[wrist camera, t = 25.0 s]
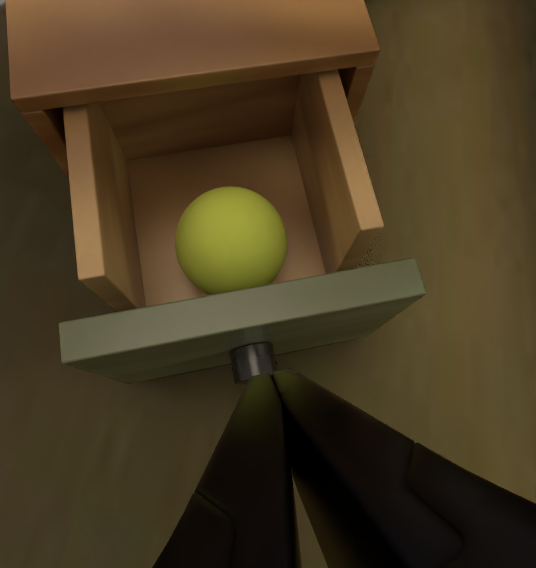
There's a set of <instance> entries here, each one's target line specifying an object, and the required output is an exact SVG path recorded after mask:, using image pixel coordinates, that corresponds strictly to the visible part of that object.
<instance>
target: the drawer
mask: <svg viewBox="0 0 536 568" xmlns="http://www.w3.org/2000/svg"><path fill="white" fill-rule="evenodd" d="M63 116H64V127H65V138H66V149H67V161H68V172H69V183H70V194H71V205H72V216H73V227H74V238H75V249H76V260H77V271H78V279H79V280H80V281H81V282H82V283H83V284H84V285H86V286H87V287H88V288H89V289H90V290H92V291H93V292H94V293H95V294H96V295H98V296H99V297H100V298H101V299H102V300H103V301H105V302H106V303H107V304H108V305H109V306H111V307H112V308H113V309H114V310H115V311H117V312H114V313H109V314H104V315H98V316H93V317H87V318H82V319H76V320H71V321H65V322H61V323H59V335H60V348H61V361H62V363H63V364H66V365H69V366H72V367H75V368H79V369H82V370H85V371H88V372H91V373H95V374H98V375H101V376H104V377H107V378H111V379H114V380H117V381H120V382H124V383H127V384H130V383H135V382H140V381H145V380H150V379H155V378H160V377H165V376H171V375H176V374H181V373H186V372H191V371H196V370H201V369H206V368H211V367H216V366H221V365H226V364H231V365H232V371H233V377H234V382H235V384H237V385H240V384H247V382H248V380H249V378H250V377H251V376H255V375H259V374H264V373H269V374H271V376H272V373H273V372H275V371H278V368H277V363H276V358H275V355H276V354H281V353H286V352H291V351H296V350H301V349H306V348H311V347H316V346H322V345H327V344H332V343H337V342H342V341H347V340H352V339H357V338H362V337H366V336H368V335H369V334H370V333H372V332H373V331H375V330H376V329H377V328H379V327H380V326H382V325H383V324H384V323H386V322H387V321H389V320H390V319H391V318H393V317H394V316H396V315H397V314H398V313H400V312H401V311H403V310H404V309H405V308H407V307H408V306H410V305H411V304H412V303H414V302H415V301H417V300H418V299H419V298H421V297H422V296H424V295H425V294H426V290H425V287H424V284H423V280H422V277H421V274H420V271H419V268H418V264H417V261H416V259H415V258H410V259H404V260H399V261H393V262H388V263H382V264H377V265H371V266H366V267H361V268H355V267H356V266H357V264H358V263H359V261H360V260H361V259H362V257H363V256H364V254H365V253H366V251H367V250H368V249H369V247H370V246H371V244H372V243H373V242H374V240H375V239H376V237H377V236H378V234H379V233H380V232H381V230H382V229H383V227H384V223H383V220H382V217H381V213H380V210H379V207H378V203H377V200H376V197H375V193H374V190H373V186H372V183H371V180H370V176H369V173H368V170H367V166H366V163H365V160H364V156H363V153H362V150H361V146H360V143H359V139H358V136H357V133H356V129H355V126H354V123H353V119H352V116H351V113H350V109H349V106H348V103H347V99H346V96H345V92H344V89H343V86H342V82H341V79H340V76H339V72H338V69H337V70H330V71H322V72H315V73H308V74H301V75H293V76H286V77H279V78H272V79H264V80H257V81H250V82H242V83H235V84H228V85H221V86H213V87H206V88H199V89H192V90H184V91H177V92H170V93H163V94H155V95H148V96H141V97H134V98H126V99H119V100H112V101H104V102H97V103H90V104H83V105H75V106H68V107H63ZM229 186H232V187H241V188H246V189H249V190H252V191H254V192H256V193H258V194H260V195H261V196H263V197H264V198H266V199H267V200H268V201H269V202H270V203H271V204H272V205H273V206H274V207H275V208H276V210H277V211H278V213H279V214H280V216H281V218H282V220H283V223H284V226H285V229H286V234H287V252H286V257H285V260H284V263H283V265H282V268H281V270H280V271H279V273H278V274H277V276H276V277H275V278H274V280H273V281H272V282H271V283H270V284H268V285H262V286H257V287H251V288H246V289H240V290H235V291H229V292H224V293H218V294H213V295H210V294H208V293H206V292H204V291H202V290H201V289H199V288H198V287H197V286H196V285H194V284H193V283H192V282H191V281H190V280H189V279H188V277H187V276H186V275H185V273H184V272H183V270H182V268H181V266H180V264H179V261H178V259H177V254H176V249H175V235H176V229H177V226H178V223H179V220H180V218H181V216H182V214H183V213H184V211H185V210H186V208H187V207H188V206H189V205H190V204H191V202H193V201H194V200H195V199H196V198H197V197H199V196H200V195H202V194H204V193H206V192H208V191H210V190H213V189H216V188H220V187H229Z"/></svg>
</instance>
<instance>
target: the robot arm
mask: <svg viewBox="0 0 536 568" xmlns="http://www.w3.org/2000/svg"><path fill="white" fill-rule="evenodd" d="M291 472H292V473H291ZM292 475H293V479H294V482H295V484H296V487H297V490H298V492H299V495H300V497H301V500H302V502H303V505H304V507H305V510H306V513H307V515H308V518H309V520H310V523H311V525H312V528H313V530H314V533H315V535H316V538H317V540H318V543H319V545H320V548H321V550H322V553H323V555H324V558H325V560H326V563H327V565H328V568H536V504H535V503H533V502H531V501H529V500H527V499H525V498H523V497H520V496H518V495H516V494H514V493H512V492H510V491H508V490H506V489H504V488H502V487H500V486H498V485H496V484H494V483H492V482H490V481H488V480H485V479H483V478H481V477H479V476H477V475H475V474H473V473H471V472H469V471H467V470H465V469H464V468H462V467H460V466H458V465H456V464H455V463H453V462H451V461H449V460H447V459H446V458H444V457H442V456H440V455H438V454H437V453H435V452H433V451H432V450H430V449H428V448H426V447H425V446H423V445H421V444H420V443H415V442H414V441H413V440H411V439H410V438H408V437H406V436H405V435H403V434H401V433H400V432H398V431H396V430H395V429H393V428H391V427H390V426H388V425H386V424H384V423H383V422H381V421H379V420H378V419H376V418H374V417H373V416H371V415H369V414H368V413H366V412H364V411H362V410H361V409H359V408H357V407H356V406H354V405H352V404H351V403H349V402H347V401H346V400H344V399H342V398H341V397H339V396H337V395H335V394H334V393H332V392H330V391H329V390H327V389H325V388H324V387H322V386H320V385H319V384H317V383H315V382H313V381H312V380H310V379H308V378H307V377H305V376H303V375H302V374H300V373H298V372H297V371H295V370H293V369H290V368H289V369H284V370H279V371H275V372H273V373H272V376H271V374H269V373H264V374H259V375H255V376H251V377H250V378H249V380H248V382H247V385H246V387H245V389H244V391H243V393H242V395H241V397H240V399H239V401H238V403H237V405H236V407H235V409H234V411H233V413H232V415H231V418H230V420H229V422H228V424H227V426H226V428H225V430H224V432H223V434H222V436H221V438H220V440H219V442H218V444H217V446H216V448H215V450H214V453H213V455H212V457H211V459H210V461H209V463H208V465H207V467H206V469H205V471H204V473H203V475H202V477H201V479H200V481H199V483H198V485H197V488H196V490H195V493H194V494H192V496H191V498H190V500H189V503H188V505H187V507H186V509H185V511H184V513H183V515H182V517H181V519H180V520H179V522H178V524H177V526H176V528H175V530H174V532H173V534H172V536H171V537H170V539H169V541H168V543H167V544H166V546H165V548H164V549H163V551H162V552H161V554H160V556H159V557H158V559H157V561H156V562H155V564H154V566H153V567H152V568H302V565H301V556H300V546H299V536H298V526H297V516H296V507H295V497H294V488H293V480H292Z"/></svg>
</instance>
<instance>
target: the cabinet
mask: <svg viewBox="0 0 536 568" xmlns="http://www.w3.org/2000/svg"><path fill="white" fill-rule="evenodd" d="M6 16H7V35H8V54H9V73H10V92H11V100H12V101H13V103H14V104H15V105H16V107H17V108H18V109H19V111H20V112H21V113H22V115H23V116H24V117H25V119H26V120H27V122H28V123H29V124H30V126H31V127H32V128H33V130H34V131H35V132H36V134H37V135H38V137H39V138H40V139H41V141H42V142H43V143H44V145H45V146H46V147H47V149H48V150H49V151H50V153H51V154H52V156H53V157H54V158H55V160H56V161H57V162H58V164H59V165H60V166H61V168H62V169H63V171H64V172H65V173H66V175H67V176H68V177H69V172H68V161H67V149H66V138H65V127H64V116H63V107H68V106H75V105H83V104H90V103H97V102H104V101H112V100H119V99H126V98H134V97H141V96H148V95H155V94H163V93H170V92H177V91H184V90H192V89H199V88H206V87H213V86H221V85H228V84H235V83H242V82H250V81H257V80H264V79H272V78H279V77H286V76H293V75H301V74H308V73H315V72H322V71H330V70H337V69H338V72H339V76H340V79H341V82H342V86H343V89H344V92H345V96H346V99H347V103H348V106H349V109H350V113H351V116H352V119H353V123H354V122H355V120H356V117H357V114H358V111H359V109H360V106H361V103H362V100H363V97H364V95H365V92H366V89H367V86H368V83H369V81H370V78H371V75H372V72H373V69H374V67H375V63H376V60H377V57H378V55H379V52H380V47H379V44H378V41H377V38H376V35H375V32H374V29H373V26H372V23H371V20H370V17H369V14H368V11H367V8H366V5H365V2H364V0H6Z"/></svg>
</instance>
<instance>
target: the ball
mask: <svg viewBox="0 0 536 568" xmlns="http://www.w3.org/2000/svg"><path fill="white" fill-rule="evenodd" d="M175 249H176V254H177V259H178V261H179V264H180V266H181V268H182V270H183V272H184V273H185V275H186V276H187V277H188V279H189V280H190V281H191V282H192V283H193V284H194V285H196V286H197V287H198V288H199V289H201V290H202V291H204V292H206V293H208V294H210V295H213V294H218V293H224V292H229V291H235V290H240V289H246V288H251V287H257V286H262V285H268V284H270V283H271V282H272V281H273V280H274V278H275V277H276V276H277V274H278V273H279V271H280V270H281V268H282V265H283V263H284V260H285V257H286V252H287V234H286V229H285V226H284V223H283V220H282V218H281V216H280V214H279V213H278V211H277V210H276V208H275V207H274V206H273V205H272V204H271V203H270V202H269V201H268V200H267V199H266V198H264V197H263V196H261V195H260V194H258V193H256V192H254V191H252V190H249V189H246V188H241V187H232V186H229V187H220V188H216V189H213V190H210V191H208V192H206V193H204V194H202V195H200V196H199V197H197V198H196V199H195V200H194V201H193V202H191V204H190V205H189V206H188V207H187V208H186V210H185V211H184V213H183V214H182V216H181V218H180V220H179V223H178V226H177V229H176V235H175Z"/></svg>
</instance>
